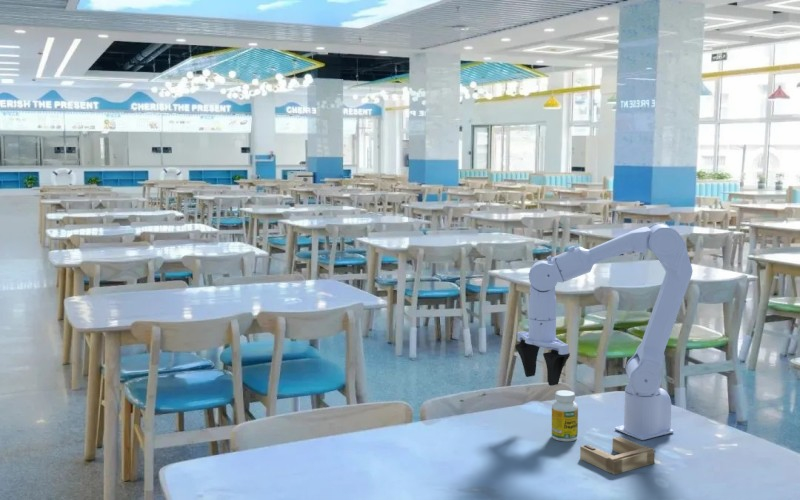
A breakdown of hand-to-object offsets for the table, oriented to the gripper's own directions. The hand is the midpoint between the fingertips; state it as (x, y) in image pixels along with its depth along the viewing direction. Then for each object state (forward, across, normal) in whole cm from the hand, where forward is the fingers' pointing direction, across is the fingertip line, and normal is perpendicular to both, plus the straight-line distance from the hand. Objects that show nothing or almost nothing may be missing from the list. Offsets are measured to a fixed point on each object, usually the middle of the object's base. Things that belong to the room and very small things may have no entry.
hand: (541, 380), depth 176 cm
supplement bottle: (+11, +7, 0) cm, 13 cm away
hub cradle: (+10, +22, 0) cm, 25 cm away
